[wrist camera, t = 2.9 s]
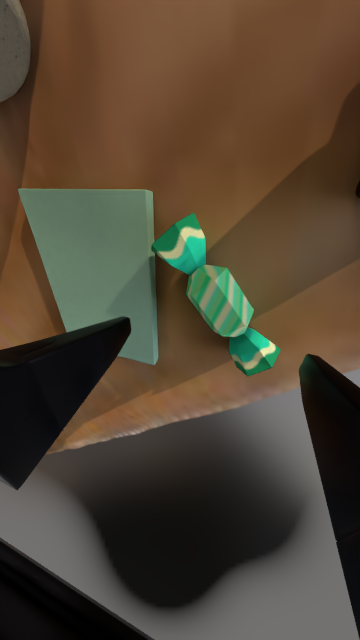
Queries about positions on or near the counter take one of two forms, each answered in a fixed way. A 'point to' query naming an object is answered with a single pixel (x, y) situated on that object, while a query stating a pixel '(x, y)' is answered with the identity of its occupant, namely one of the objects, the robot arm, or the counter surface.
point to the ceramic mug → (13, 48)
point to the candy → (216, 295)
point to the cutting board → (99, 259)
